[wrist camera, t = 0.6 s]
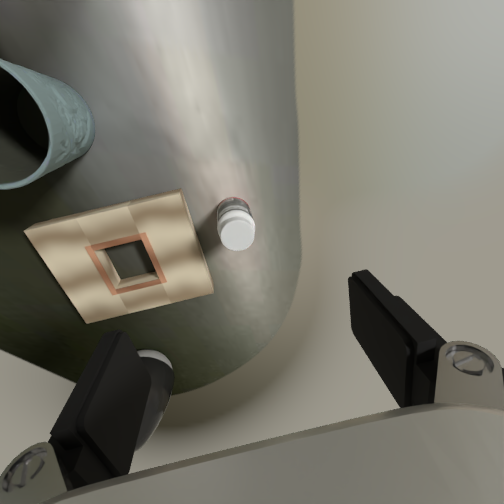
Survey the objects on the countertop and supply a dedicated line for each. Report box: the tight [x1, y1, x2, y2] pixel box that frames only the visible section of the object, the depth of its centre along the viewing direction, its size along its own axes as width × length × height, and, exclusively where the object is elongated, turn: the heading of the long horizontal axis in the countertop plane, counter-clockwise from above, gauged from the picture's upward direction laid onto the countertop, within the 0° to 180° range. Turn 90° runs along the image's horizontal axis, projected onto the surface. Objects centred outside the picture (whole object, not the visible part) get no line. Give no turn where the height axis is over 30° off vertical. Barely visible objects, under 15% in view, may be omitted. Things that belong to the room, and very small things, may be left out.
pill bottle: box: [217, 197, 255, 251], centre depth 36 cm, size 5×5×8 cm
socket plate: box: [24, 189, 214, 324], centre depth 39 cm, size 16×20×3 cm
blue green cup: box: [0, 59, 95, 190], centre depth 26 cm, size 10×10×12 cm
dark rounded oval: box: [134, 350, 175, 452], centre depth 44 cm, size 10×10×15 cm
